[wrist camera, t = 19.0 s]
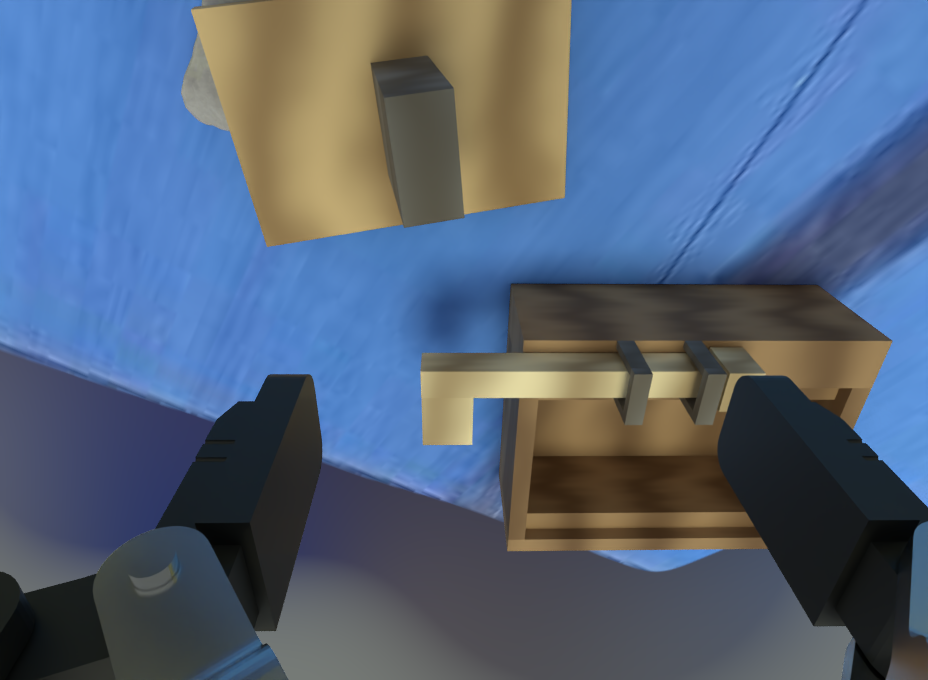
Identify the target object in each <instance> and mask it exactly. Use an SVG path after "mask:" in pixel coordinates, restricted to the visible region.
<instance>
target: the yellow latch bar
mask: <svg viewBox="0 0 928 680" xmlns="http://www.w3.org/2000/svg"><path fill="white" fill-rule="evenodd" d="M709 351H710V353H711V354H712V355H713V356H714V358H715V359H716V360H717V362H718V363H719V364H720V366H721V367H722V368H723V370H724V371H725V372H726V373H727V377H726V380H725V384H724V387H723V391H722V394H721V398H720V401H719V404H718V408H717V410H718V411H719V412H727V409H728V406H729V403H730V399H731V396H732V393H733V389H734V386H735V384H736V382H737V380H738V379H739V378H740V377H741V376H746V375H766V373H765V372H764V371H763V369H762V368H761V367H760V366H759V365H758V364H757V363H756V361H755V360H754V359H753V358H752V357H751V356H750V355H749V353H748V352H747V351H746V350H745V349H744V348H743V347H710V349H709ZM641 354H642V355H643V357H644V359H645V361H646V363H647V364H648V366H649V368H650V370H651V372H652V373H653V378H652V382H651V387H650V391H649V396H648V398H697V394H698V391H699V387H700V383H701V379H702V375H701V373H700V372H699V370H698V369H697V368H696V366H695V365H694V363H693V362H692V360H691V359H690V357H689V356H688V355H687V353H641ZM629 378H630V375H629V373H628V371H627V369H626V367H625V365H624V363H623V361H622V359H621V357H620V355H619V353H422V360H421V398H422V428H423V445H472V428H473V398H626V394H627V389H628V384H629Z"/></svg>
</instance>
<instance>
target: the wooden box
mask: <svg viewBox="0 0 928 680" xmlns="http://www.w3.org/2000/svg"><path fill="white" fill-rule="evenodd" d="M891 343H892V340H891V339H889V338H888V337H886V336H885V335H884V334H882V333H881V332H880V331H878V330H877V329H876V328H874V327H873V326H872V325H870V324H869V323H868V322H866V321H865V320H864V319H862V318H861V317H860V316H858V315H857V314H856V313H854V312H853V311H852V310H850V309H849V308H848V307H846V306H845V305H844V304H842V303H841V302H840V301H838V300H837V299H836V298H834V297H833V296H832V295H830V294H829V293H828V292H826V291H825V290H824V289H822V288H821V287H820V286H818V285H700V284H511V289H510V306H509V322H508V338H507V353H619V355H620V357H621V359H622V361H623V363H624V365H625V367H626V369H627V371H628V373H629V375H630V378H629V384H628V389H627V394H626V398H504V403H503V419H502V435H501V452H500V468H499V479H500V488H501V497H502V506H503V516H504V525H505V534H506V543H507V551H552V550H553V551H559V550H560V551H561V550H562V551H565V550H678V549H768V548H767V547H766V545H765V543H764V542H763V540H762V538H761V536H760V535H759V533H758V531H757V530H756V528H755V526H754V525H753V523H752V521H751V520H750V518H749V516H748V515H747V513H746V511H745V509H744V508H743V506H742V504H741V503H740V501H739V499H738V498H737V496H736V494H735V493H734V491H733V489H732V487H731V486H730V484H729V482H728V481H727V479H726V477H725V476H724V474H723V472H722V470H721V467H720V464H719V460H718V452H717V447H718V439H719V436H720V432H721V429H722V426H723V422H724V419H725V416H726V413H727V412H719V411H718V410H717V408H718V404H719V401H720V398H721V394H722V391H723V387H724V384H725V380H726V377H727V373H726V372H725V371H724V370H723V368H722V367H721V366H720V364H719V363H718V362H717V360H716V359H715V358H714V356H713V355H712V354H711V353H710V351H709V349H710V347H743V348H744V349H745V350H746V351H747V352H748V353H749V355H750V356H751V357H752V358H753V359H754V360H755V361H756V363H757V364H758V365H759V366H760V367H761V368H762V369H763V371H764V372H765V373H766V375H783V376H787V377H788V378H790V379H791V380H792V381H793V382H794V383H795V385H796V386H797V387H798V388H799V389H800V390H801V391H802V392H803V393H804V394H805V395H806V396H807V398H808V399H809V400H810V401H811V402H816V403H818V404H819V405H821V406H823V407H824V408H826V409H827V410H829V411H831V412H832V413H834V414H835V415H837V416H839V417H840V418H842V419H843V420H844V421H845V422H846V423H847V424H848V425H849V426H850V427H851V428H852V429H853V428H854V426H855V424H856V421H857V419H858V417H859V415H860V412H861V410H862V408H863V406H864V404H865V401H866V399H867V397H868V395H869V392H870V390H871V388H872V386H873V384H874V381H875V379H876V377H877V375H878V372H879V370H880V368H881V366H882V363H883V361H884V359H885V357H886V355H887V352H888V350H889V348H890V346H891ZM641 353H687V355H688V356H689V357H690V359H691V360H692V362H693V363H694V365H695V366H696V368H697V369H698V370H699V372H700V373H701V375H702V379H701V383H700V387H699V391H698V394H697V398H648V396H649V391H650V387H651V382H652V378H653V373H652V372H651V370H650V368H649V366H648V364H647V363H646V361H645V359H644V357H643V355H642V354H641Z"/></svg>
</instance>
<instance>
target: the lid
mask: <svg viewBox="0 0 928 680" xmlns="http://www.w3.org/2000/svg"><path fill="white" fill-rule="evenodd" d="M191 12H192V15H193V18H194V21H195V24H196V27H197V30H198V33H199V37H200V40H201V43H202V46H203V49H204V52H205V55H206V58H207V61H208V65H209V68H210V71H211V74H212V77H213V80H214V83H215V86H216V89H217V92H218V96H219V99H220V102H221V105H222V108H223V111H224V114H225V117H226V120H227V124H228V127H229V130H230V133H231V136H232V139H233V142H234V145H235V148H236V152H237V155H238V158H239V161H240V164H241V167H242V170H243V173H244V176H245V180H246V183H247V186H248V189H249V192H250V195H251V198H252V201H253V204H254V207H255V211H256V214H257V217H258V220H259V223H260V226H261V229H262V232H263V235H264V239H265V242H266V245H267V247H270V246H276V245H282V244H288V243H294V242H300V241H306V240H312V239H318V238H324V237H330V236H336V235H342V234H348V233H354V232H360V231H366V230H373V229H379V228H385V227H391V226H397V225H403V226H404V228H406V227H412V226H418V225H424V224H430V223H436V222H442V221H448V220H454V219H460V218H465V217H464V214H469V213H475V212H481V211H488V210H494V209H500V208H506V207H512V206H518V205H524V204H530V203H536V202H542V201H548V200H554V199H560V198H565V174H566V145H567V116H568V86H569V57H570V28H571V0H251V1H242V2H234V3H225V4H216V5H207V6H198V7H194V8H192V9H191Z"/></svg>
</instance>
